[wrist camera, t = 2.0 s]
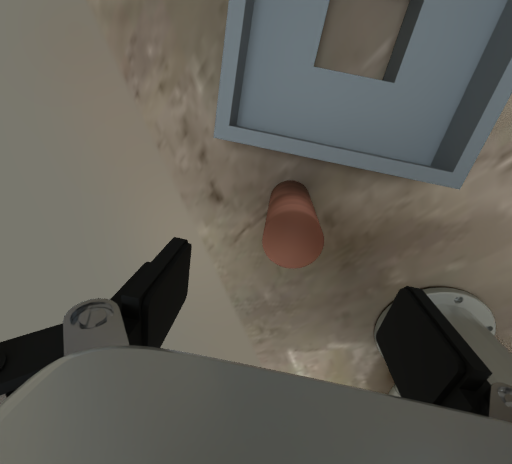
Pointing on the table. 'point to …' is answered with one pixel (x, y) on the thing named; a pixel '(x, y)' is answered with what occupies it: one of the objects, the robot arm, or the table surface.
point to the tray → (369, 88)
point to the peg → (292, 227)
